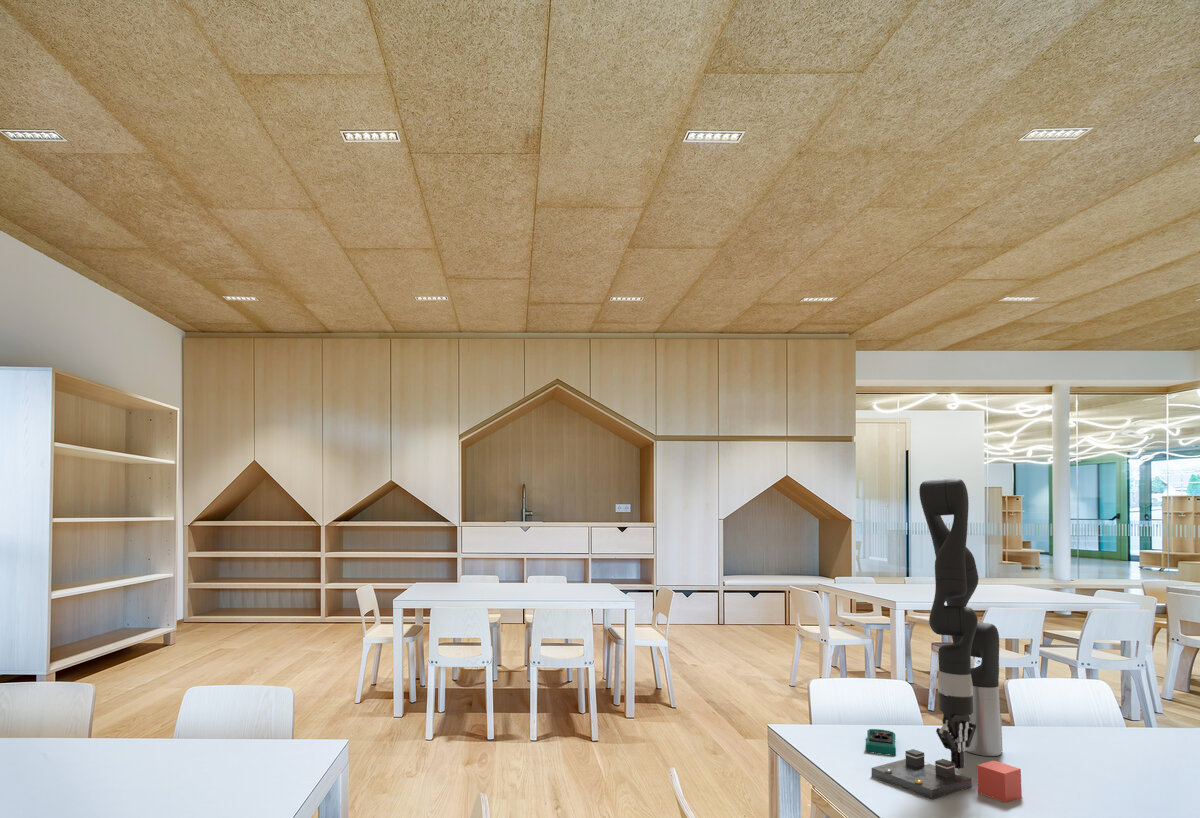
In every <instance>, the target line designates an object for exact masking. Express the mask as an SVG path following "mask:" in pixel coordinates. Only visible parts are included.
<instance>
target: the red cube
mask: <svg viewBox="0 0 1200 818" xmlns="http://www.w3.org/2000/svg"><path fill="white" fill-rule="evenodd" d="M976 767H977V769H976V772H977V773H976V774H977V776H976V777H977V793H978V794H980V795H983V796H986V797H989V798H992V799H995V800H998V801H1000V802H1003V803H1008V802H1011V801H1014V800H1017V799H1019V798H1022V797H1023V793H1022V792H1023V791H1022V774H1021V773H1022V772H1021V771H1022V769H1021V768H1020V767H1019V768H1018V767H1016V766H1012V765H1009V764H1006V763H1002V762H1000V761H996V760H990V761H986V762H982V763H979V764H976Z"/></svg>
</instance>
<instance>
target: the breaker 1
mask: <svg viewBox="0 0 1200 818" xmlns="http://www.w3.org/2000/svg"><path fill="white" fill-rule="evenodd" d="M905 759H906V764H907V765H910V766H913V767H916V768H918V767H922V766H925V765H924V762H925V752H923V751H919V750H917V749H914V748H913V749H908V750H905Z"/></svg>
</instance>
